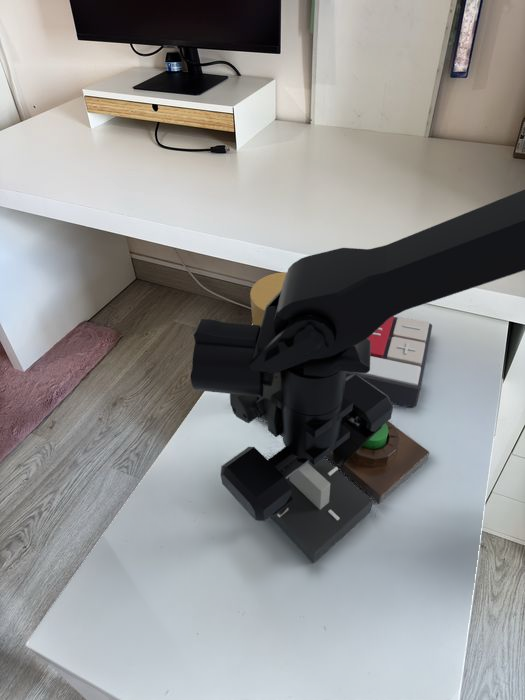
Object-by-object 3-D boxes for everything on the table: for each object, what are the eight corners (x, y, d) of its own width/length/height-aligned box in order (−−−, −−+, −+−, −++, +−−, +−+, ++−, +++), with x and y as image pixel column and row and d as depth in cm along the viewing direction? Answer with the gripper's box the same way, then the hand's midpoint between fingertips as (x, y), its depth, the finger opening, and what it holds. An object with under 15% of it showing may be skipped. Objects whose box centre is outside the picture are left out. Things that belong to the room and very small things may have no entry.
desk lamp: (328, 404, 69) (335, 292, 56) (285, 435, 66) (282, 324, 53) (289, 373, 74) (287, 264, 61) (246, 401, 70) (235, 291, 57)
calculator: (433, 319, 76) (421, 385, 65) (428, 341, 79) (416, 408, 68) (361, 306, 79) (338, 367, 68) (358, 328, 82) (336, 389, 71)
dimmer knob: (329, 502, 56) (330, 482, 53) (320, 510, 55) (321, 489, 52) (298, 473, 59) (298, 452, 56) (289, 480, 58) (288, 459, 55)
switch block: (427, 460, 62) (432, 443, 60) (379, 504, 58) (382, 487, 56) (359, 409, 68) (362, 392, 66) (312, 445, 64) (313, 428, 62)
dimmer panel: (371, 511, 57) (373, 499, 56) (313, 564, 53) (313, 552, 51) (304, 452, 64) (304, 439, 62) (247, 495, 60) (246, 482, 58)
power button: (392, 438, 61) (394, 429, 60) (372, 454, 59) (374, 446, 58) (369, 421, 63) (371, 412, 62) (350, 436, 61) (351, 427, 60)
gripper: (322, 307, 54) (317, 403, 65) (176, 394, 46) (199, 487, 57) (405, 360, 48) (385, 456, 58) (254, 472, 40) (263, 561, 50)
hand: (309, 486), depth 56 cm, fingers open, 9 cm apart
